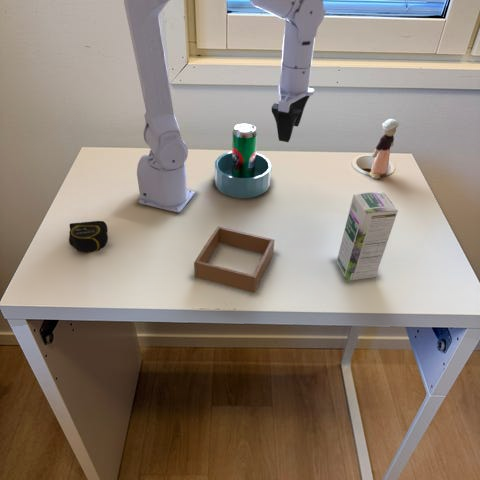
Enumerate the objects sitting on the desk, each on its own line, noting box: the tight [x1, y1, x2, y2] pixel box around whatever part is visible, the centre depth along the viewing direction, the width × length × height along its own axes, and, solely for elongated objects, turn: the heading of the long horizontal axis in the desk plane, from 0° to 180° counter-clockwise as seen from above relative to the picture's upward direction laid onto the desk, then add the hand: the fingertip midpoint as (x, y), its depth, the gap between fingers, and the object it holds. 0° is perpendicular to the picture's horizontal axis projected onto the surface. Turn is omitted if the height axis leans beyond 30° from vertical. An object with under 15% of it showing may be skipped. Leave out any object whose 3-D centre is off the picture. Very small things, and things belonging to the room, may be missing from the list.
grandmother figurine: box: [368, 118, 400, 180], centre depth 104 cm, size 8×4×13 cm, turn 148°
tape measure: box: [68, 220, 109, 254], centre depth 87 cm, size 7×7×4 cm
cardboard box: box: [193, 225, 276, 294], centre depth 84 cm, size 11×11×4 cm
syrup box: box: [336, 191, 399, 282], centre depth 80 cm, size 6×6×14 cm
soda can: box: [231, 122, 258, 178], centre depth 99 cm, size 5×5×12 cm
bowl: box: [214, 151, 272, 199], centre depth 103 cm, size 12×12×4 cm
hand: (288, 132), depth 99 cm, fingers open, 7 cm apart
